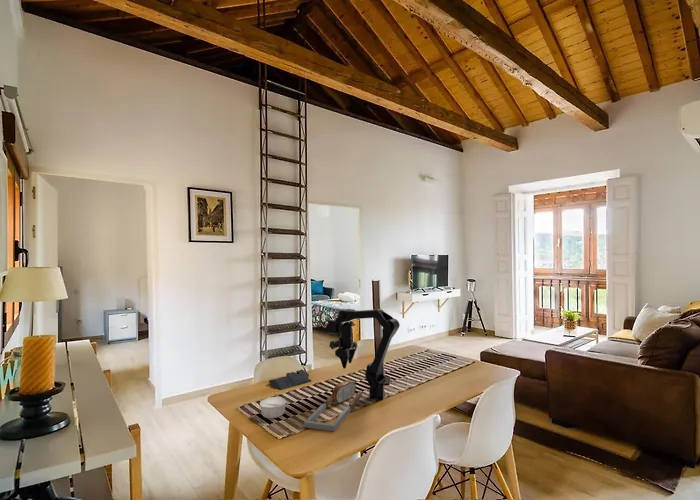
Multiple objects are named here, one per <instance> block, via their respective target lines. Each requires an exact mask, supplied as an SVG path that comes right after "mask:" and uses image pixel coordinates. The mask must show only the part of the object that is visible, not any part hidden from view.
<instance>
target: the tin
mask: <svg viewBox="0 0 700 500" xmlns="http://www.w3.org/2000/svg"><path fill="white" fill-rule="evenodd" d="M356 387H357V386H356V382H354V381H352V380H350V379H348V380H345V381H343V382H340V383H338V384H336V385H335V386H334V387H333V389H332V393H331V395H332V399H333V401H332V402H333V403H337V404H342V403H344V402H347V401H349V400H350V398H351V399H353V398H354V397H355V394H356V389H357V388H356Z"/></svg>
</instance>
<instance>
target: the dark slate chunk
mask: <svg viewBox="0 0 700 500" xmlns="http://www.w3.org/2000/svg"><path fill="white" fill-rule="evenodd" d="M285 375H286V376H281V377H278V378H277V377H276V378H273V379H270V380H268V383H269V384H270V385H271V386H273V387H274V388H275V389H276V390H280V391H282V390H287V389H290V388H293V387H297V386H301V385H304V384H308V383H311V382H312V379H310V378H309V376H310V374H309V373H308V372H306V371H305V370H304V369H299V370H296V371H295V372H294V371H291V372H287V373H285Z"/></svg>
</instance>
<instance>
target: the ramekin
mask: <svg viewBox="0 0 700 500" xmlns="http://www.w3.org/2000/svg"><path fill="white" fill-rule="evenodd" d="M286 405H287V401H286V399H285V398H284V397H280V396H279V397H278V396H277V397H275V396H272V397H268V398H265V399H263V400H261V401H260V403H259V408H260V411H261V415H262V416H263V418H265V419H277V418H279V417H282V416H283V415H284V413H285V410H286Z"/></svg>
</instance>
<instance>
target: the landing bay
mask: <svg viewBox="0 0 700 500" xmlns="http://www.w3.org/2000/svg"><path fill="white" fill-rule="evenodd" d="M326 409H327V406H326V404H325V402H324V403H322V404H321V405H320V406H319V407H318V408H317V409H316V410H314V412H312V413H311V414H310V415H309V417H307V419H306V420H305V421H304V422H303V427H304V428H309V429H315V430H321V431H330V432H336V430H337V429H338V428H339V426H340V425H341V424H342V422H343V421H344V420H345V419H346V418H347V416H348V415H349V413H351V409H350V406H349V405H347V406H346V407H345V408H344V409H343V410H342V411H341V413H340V414H339V416H338V417H337V418H336V419H335V420H334V421H333V423H328V422H327V423H326V422H321V421H318V422H317V421H316V419H317V418H318V417H319V416H320V415H321V414H322V413H323V412H324V411H325V410H326Z"/></svg>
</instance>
